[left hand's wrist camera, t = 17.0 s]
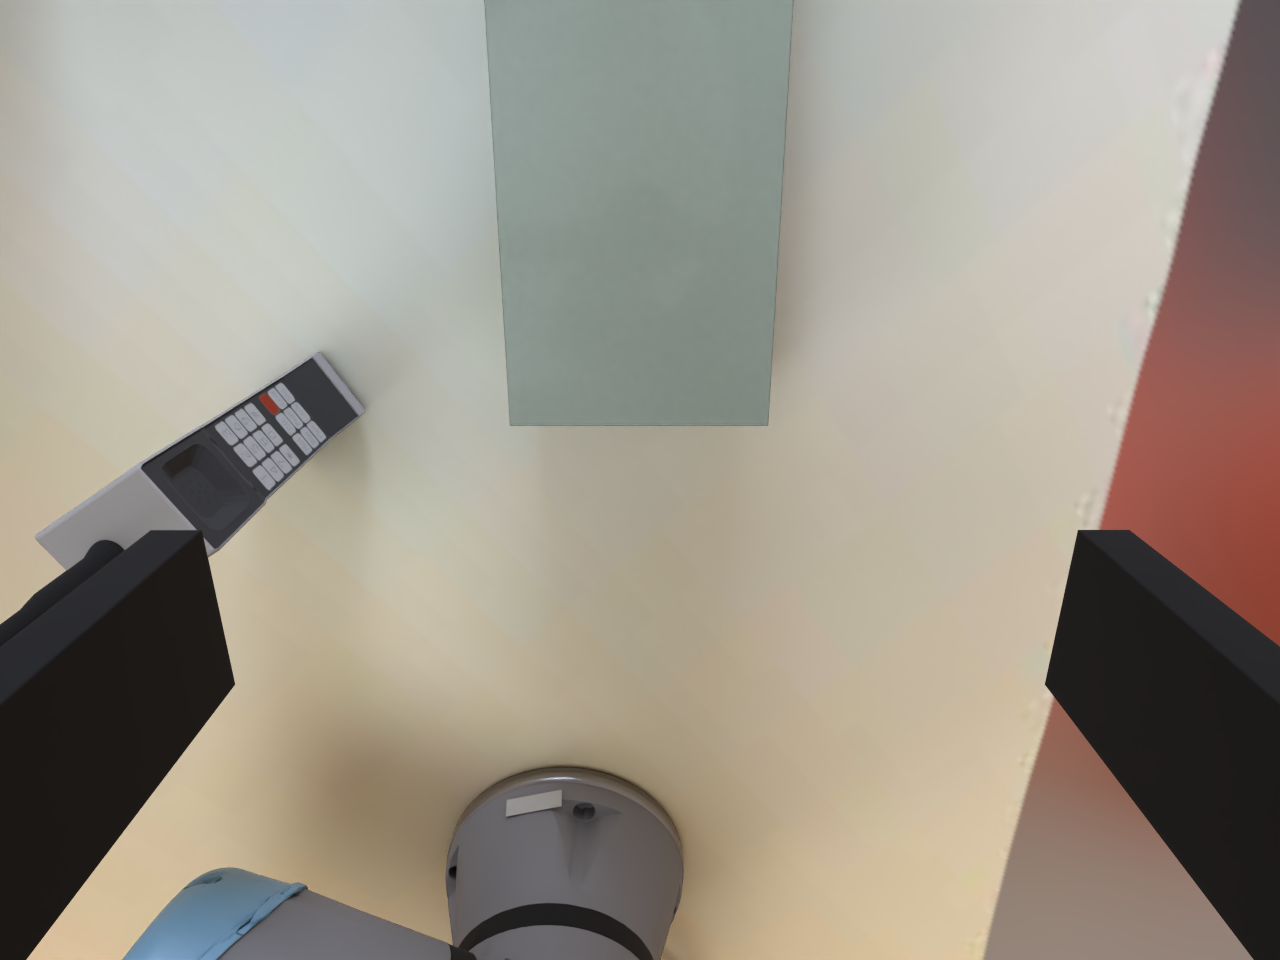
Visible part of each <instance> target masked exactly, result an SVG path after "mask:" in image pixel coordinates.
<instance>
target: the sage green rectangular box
mask: <svg viewBox="0 0 1280 960" xmlns="http://www.w3.org/2000/svg"><path fill="white" fill-rule="evenodd" d="M484 2H485V19H486V35H487V52H488V68H489V85H490V102H491V118H492V135H493V151H494V168H495V185H496V201H497V218H498V235H499V251H500V268H501V284H502V301H503V318H504V334H505V351H506V368H507V384H508V401H509V417H510V425H511V426H768V418H769V402H770V385H771V368H772V351H773V335H774V318H775V301H776V285H777V268H778V251H779V234H780V218H781V201H782V184H783V167H784V151H785V134H786V117H787V100H788V84H789V67H790V50H791V33H792V17H793V0H484Z"/></svg>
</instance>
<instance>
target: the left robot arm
mask: <svg viewBox="0 0 1280 960" xmlns="http://www.w3.org/2000/svg"><path fill="white" fill-rule="evenodd" d="M234 685H235V682H234V677H233V673H232V668H231V663H230V659H229V654H228V649H227V645H226V640H225V635H224V631H223V626H222V621H221V617H220V612H219V607H218V603H217V598H216V593H215V589H214V584H213V579H212V575H211V570H210V565H209V561H208V556H207V551H206V547H205V542H204V537H203V533H202V530H150V531H149V532H148V533H146V534H145V535H144V536H143V537H141V538H140V539H139V540H137V541H136V542H135V543H133V544H132V545H131V546H130V547H128V548H127V549H126V550H124V551H123V552H122V553H121V554H119V555H118V556H117V557H115V558H114V559H113V560H112V561H110V562H109V563H108V564H106V565H105V566H104V567H103V568H101V569H100V570H99V571H97V572H96V573H95V574H93V575H92V576H91V577H90V578H88V579H87V580H86V581H84V582H83V583H82V584H81V585H79V586H78V587H77V588H75V589H74V590H73V591H72V592H70V593H69V594H68V595H66V596H65V597H64V598H63V599H61V600H60V601H59V602H57V603H56V604H55V605H53V606H52V607H51V608H50V609H48V610H47V611H46V612H44V613H43V614H42V615H41V616H39V617H38V618H37V619H35V620H34V621H33V622H32V623H30V624H29V625H28V626H26V627H25V628H24V629H23V630H21V631H20V632H19V633H17V634H16V635H15V636H13V637H12V638H11V639H10V640H8V641H7V642H6V643H4V644H3V645H2V646H1V647H0V960H26V959H27V958H28V957H29V955H30V954H31V953H32V951H33V950H34V949H35V947H36V946H37V945H38V943H39V942H40V941H41V939H42V938H43V937H44V935H45V934H46V933H47V932H48V930H49V929H50V928H51V926H52V925H53V924H54V922H55V921H56V920H57V918H58V917H59V916H60V914H61V913H62V912H63V910H64V909H65V908H66V906H67V905H68V904H69V903H70V901H71V900H72V899H73V897H74V896H75V895H76V893H77V892H78V891H79V889H80V888H81V887H82V885H83V884H84V883H85V881H86V880H87V879H88V878H89V876H90V875H91V874H92V872H93V871H94V870H95V868H96V867H97V866H98V864H99V863H100V862H101V860H102V859H103V858H104V856H105V855H106V854H107V852H108V851H109V850H110V849H111V847H112V846H113V845H114V843H115V842H116V841H117V839H118V838H119V837H120V835H121V834H122V833H123V831H124V830H125V829H126V827H127V826H128V825H129V823H130V822H131V821H132V820H133V818H134V817H135V816H136V814H137V813H138V812H139V810H140V809H141V808H142V806H143V805H144V804H145V802H146V801H147V800H148V798H149V797H150V796H151V795H152V793H153V792H154V791H155V789H156V788H157V787H158V785H159V784H160V783H161V781H162V780H163V779H164V777H165V776H166V775H167V773H168V772H169V771H170V769H171V768H172V767H173V766H174V764H175V763H176V762H177V760H178V759H179V758H180V756H181V755H182V754H183V752H184V751H185V750H186V748H187V747H188V746H189V744H190V743H191V742H192V740H193V739H194V738H195V737H196V735H197V734H198V733H199V731H200V730H201V729H202V727H203V726H204V725H205V723H206V722H207V721H208V719H209V718H210V717H211V715H212V714H213V713H214V712H215V710H216V709H217V708H218V706H219V705H220V704H221V702H222V701H223V700H224V698H225V697H226V696H227V694H228V693H229V692H230V690H231V689H232V688H233V686H234ZM1045 685H1046V686H1047V688H1048V689H1049V690H1050V692H1051V693H1052V694H1053V696H1054V697H1055V698H1056V700H1057V701H1058V702H1059V704H1060V705H1061V706H1062V707H1063V709H1064V710H1065V711H1066V713H1067V714H1068V715H1069V717H1070V718H1071V719H1072V721H1073V722H1074V723H1075V725H1076V726H1077V727H1078V729H1079V730H1080V731H1081V732H1082V734H1083V735H1084V737H1085V738H1086V739H1087V740H1088V742H1089V743H1090V744H1091V746H1092V747H1093V748H1094V750H1095V751H1096V752H1097V754H1098V755H1099V756H1100V758H1101V759H1102V760H1103V761H1104V763H1105V764H1106V766H1107V767H1108V768H1109V769H1110V771H1111V772H1112V773H1113V775H1114V776H1115V777H1116V779H1117V780H1118V781H1119V783H1120V784H1121V785H1122V787H1123V788H1124V789H1125V791H1126V792H1127V793H1128V794H1129V796H1130V797H1131V798H1132V800H1133V801H1134V802H1135V804H1136V805H1137V806H1138V808H1139V809H1140V810H1141V812H1142V813H1143V814H1144V815H1145V817H1146V818H1147V819H1148V821H1149V822H1150V823H1151V825H1152V826H1153V827H1154V829H1155V830H1156V831H1157V833H1158V834H1159V835H1160V837H1161V838H1162V839H1163V841H1164V842H1165V843H1166V845H1167V846H1168V847H1169V849H1170V850H1171V851H1172V852H1173V854H1174V855H1175V856H1176V858H1177V859H1178V860H1179V862H1180V863H1181V864H1182V866H1183V867H1184V868H1185V870H1186V871H1187V872H1188V874H1189V875H1190V876H1191V877H1192V879H1193V880H1194V881H1195V883H1196V884H1197V885H1198V887H1199V888H1200V889H1201V891H1202V892H1203V893H1204V895H1205V896H1206V897H1207V899H1208V900H1209V901H1210V903H1211V904H1212V905H1213V906H1214V908H1215V909H1216V910H1217V912H1218V913H1219V914H1220V916H1221V917H1222V918H1223V920H1224V921H1225V922H1226V924H1227V925H1228V926H1229V928H1230V929H1231V930H1232V931H1233V933H1234V934H1235V935H1236V937H1237V938H1238V939H1239V941H1240V942H1241V943H1242V945H1243V946H1244V947H1245V949H1246V950H1247V951H1248V953H1249V954H1250V955H1251V957H1252V958H1253V959H1254V960H1280V647H1279V646H1278V645H1277V644H1276V643H1274V642H1273V641H1272V640H1270V639H1269V638H1268V637H1266V636H1265V635H1264V634H1263V633H1261V632H1260V631H1259V630H1257V629H1256V628H1255V627H1254V626H1252V625H1251V624H1250V623H1248V622H1247V621H1246V620H1245V619H1243V618H1242V617H1241V616H1239V615H1238V614H1237V613H1236V612H1234V611H1233V610H1232V609H1230V608H1229V607H1228V606H1226V605H1225V604H1224V603H1223V602H1221V601H1220V600H1219V599H1217V598H1216V597H1215V596H1214V595H1212V594H1211V593H1210V592H1208V591H1207V590H1206V589H1205V588H1203V587H1202V586H1201V585H1199V584H1198V583H1197V582H1196V581H1194V580H1193V579H1192V578H1190V577H1189V576H1188V575H1186V574H1185V573H1184V572H1183V571H1181V570H1180V569H1179V568H1177V567H1176V566H1175V565H1174V564H1172V563H1171V562H1170V561H1168V560H1167V559H1166V558H1165V557H1163V556H1162V555H1161V554H1159V553H1158V552H1157V551H1156V550H1154V549H1153V548H1152V547H1150V546H1149V545H1148V544H1147V543H1145V542H1144V541H1143V540H1141V539H1140V538H1139V537H1137V536H1136V535H1135V534H1134V533H1132V532H1131V531H1130V530H1078V533H1077V537H1076V542H1075V547H1074V551H1073V556H1072V561H1071V565H1070V570H1069V575H1068V579H1067V584H1066V589H1065V593H1064V598H1063V603H1062V607H1061V612H1060V617H1059V621H1058V626H1057V631H1056V635H1055V640H1054V645H1053V649H1052V654H1051V659H1050V663H1049V668H1048V673H1047V677H1046V682H1045ZM682 884H683V857H682V848H681V843H680V839H679V836H678V833H677V831H676V828H675V826H674V825H673V823H672V821H671V819H670V818H669V816H668V815H667V814H666V812H665V811H664V810H663V809H662V808H661V807H660V805H659V804H658V803H657V802H655V801H654V800H653V799H652V798H651V797H650V796H649V795H647V794H646V793H645V792H643V791H642V790H640V789H639V788H637V787H635V786H634V785H632V784H630V783H628V782H626V781H624V780H622V779H619V778H617V777H614V776H611V775H608V774H605V773H602V772H597V771H593V770H587V769H580V768H546V769H539V770H533V771H529V772H525V773H521V774H518V775H515V776H512V777H510V778H507V779H505V780H503V781H501V782H499V783H497V784H495V785H494V786H492V787H490V788H489V789H487V790H486V791H484V792H483V793H482V794H481V795H479V796H478V797H477V798H476V799H475V800H474V801H473V802H472V803H471V804H470V805H469V806H468V807H467V809H466V810H465V812H464V813H463V814H462V816H461V818H460V819H459V821H458V823H457V825H456V828H455V831H454V834H453V837H452V841H451V845H450V848H449V852H448V857H447V867H446V889H447V896H448V907H449V915H450V924H451V932H452V940H453V946H452V945H450V944H448V943H446V942H443V941H441V940H438V939H435V938H433V937H430V936H427V935H425V934H422V933H419V932H416V931H414V930H411V929H408V928H406V927H403V926H400V925H398V924H395V923H392V922H389V921H387V920H384V919H381V918H379V917H376V916H373V915H371V914H368V913H365V912H363V911H360V910H357V909H355V908H352V907H350V906H347V905H345V904H342V903H340V902H337V901H335V900H332V899H330V898H327V897H325V896H322V895H320V894H317V893H315V892H312V891H310V890H308V887H307V886H306V885H304V884H302V883H294V884H289V883H285V882H282V881H278V880H275V879H272V878H268V877H265V876H261V875H258V874H255V873H252V872H249V871H246V870H243V869H239V868H229V867H228V868H219V869H216V870H212V871H209V872H207V873H205V874H203V875H201V876H199V877H198V878H196V879H195V880H193V881H192V882H190V883H189V884H188V885H187V886H186V887H185V888H183V889H182V890H181V891H180V892H179V893H178V894H177V895H176V896H175V897H174V898H173V899H172V900H171V901H170V903H169V904H168V905H167V906H166V907H165V908H164V909H163V910H162V911H161V913H160V914H159V915H158V916H157V917H156V918H155V919H154V921H153V922H152V923H151V924H150V926H149V927H148V928H147V929H146V931H145V932H144V933H143V934H142V935H141V937H140V938H139V939H138V940H137V942H136V943H135V944H134V945H133V947H132V948H131V949H130V950H129V952H128V953H127V954H126V956H125V957H124V958H123V960H660V959H661V955H662V952H663V949H664V945H665V942H666V939H667V935H668V932H669V928H670V925H671V923H672V921H673V919H674V916H675V913H676V911H677V909H678V906H679V903H680V899H681V892H682Z"/></svg>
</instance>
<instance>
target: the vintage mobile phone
mask: <svg viewBox="0 0 1280 960" xmlns="http://www.w3.org/2000/svg"><path fill="white" fill-rule="evenodd" d="M364 412H365V409H364V408H363V407H362V406H361V404H360V403H359V402H358V400H357V399H356V398H355V397H354V395H353V394H352V393H351V392H350V390H349V389H348V388H347V387H346V385H345V384H344V383H343V381H342V380H341V379H340V378H339V376H338V375H337V374H336V373H335V371H334V370H333V369H332V367H331V366H330V365H329V364H328V362H327V361H326V360H325V359H324V357H323V356H322V355H321V354H320V352H317V353H315V354H313V355H312V356H310V357H309V358H307V359H306V360H304V361H303V362H301V363H300V364H298V365H297V366H295V367H294V368H292V369H290V370H289V371H287V372H286V373H284V374H283V375H281V376H280V377H278V378H277V379H275V380H273V381H272V382H270V383H269V384H267V385H265V386H264V387H262V388H261V389H259V390H257V391H256V392H254V393H253V394H251V395H249V396H248V397H246V398H245V399H243V400H241V401H240V402H238V403H237V404H235V405H233V406H232V407H230V408H229V409H227V410H225V411H224V412H222V413H221V414H219V415H218V416H216V417H214V418H213V419H211V420H210V421H208V422H206V423H205V424H203V425H202V426H199V427H197V428H196V429H194V430H192V431H191V432H189V433H187V434H186V435H184V436H183V437H181V438H179V439H178V440H176V441H174V442H173V443H171V444H170V445H168V446H166V447H165V448H163V449H161V450H160V451H158V452H157V453H155V454H153V455H152V456H150V457H148V458H147V459H145V460H144V461H142V462H140V463H139V464H137V465H136V466H134V467H133V468H132V469H130V470H129V471H127V472H126V473H124V474H123V475H121V476H120V477H119V478H117V479H116V480H114V481H113V482H111V483H110V484H108V485H107V486H106V487H104V488H103V489H101V490H100V491H98V492H97V493H95V494H94V495H93V496H91V497H90V498H88V499H87V500H85V501H84V502H82V503H81V504H80V505H78V506H77V507H75V508H74V509H72V510H71V511H69V512H68V513H67V514H65V515H64V516H62V517H61V518H59V519H58V520H56V521H55V522H54V523H52V524H51V525H49V526H48V527H46V528H45V529H43V530H42V531H41V532H39V533H38V534H36V536H35V538H36V540H37V541H38V542H39V543H40V544H41V545H42V546H43V547H44V548H45V549H46V550H47V551H48V552H49V553H50V554H51V555H52V556H53V557H54V558H55V559H56V560H57V561H58V562H59V563H60V564H61V565H62V566H63V567H64V568H65V569H66V570H67V571H65V572H64V573H63V574H61V575H60V576H59V577H57V578H56V579H54V580H53V581H52V582H50V583H49V584H48V585H46V586H45V587H44V588H42V589H41V590H39V591H38V592H37V593H35V594H34V595H33V596H32V597H31V598H30V600H29V601H28V602H27V603H26V604H25V605H24V606H23V607H22V608H21V609H20V610H19V611H18V612H17V613H15V614H14V615H13V616H11V617H10V618H9V619H7V620H6V621H4V622H3V623H2V624H0V647H1V646H2V645H3V644H4V643H6V642H7V641H8V640H10V639H11V638H12V637H13V636H15V635H16V634H17V633H19V632H20V631H21V630H23V629H24V628H25V627H26V626H28V625H29V624H30V623H32V622H33V621H34V620H35V619H37V618H38V617H39V616H41V615H42V614H43V613H44V612H46V611H47V610H48V609H50V608H51V607H52V606H53V605H55V604H56V603H57V602H59V601H60V600H61V599H63V598H64V597H65V596H66V595H68V594H69V593H70V592H72V591H73V590H74V589H75V588H77V587H78V586H79V585H81V584H82V583H83V582H84V581H86V580H87V579H88V578H90V577H91V576H92V575H93V574H95V573H96V572H97V571H99V570H100V569H101V568H103V567H104V566H105V565H106V564H108V563H109V562H110V561H112V560H113V559H114V558H115V557H117V556H118V555H119V554H121V553H122V552H123V551H124V550H126V549H127V548H128V547H130V546H131V545H132V544H133V543H135V542H136V541H137V540H139V539H140V538H141V537H143V536H144V535H145V534H146V533H148V532H149V531H150V530H202V533H203V537H204V542H205V547H206V551H207V556H208V557H210V556H211V555H213V554H214V553H216V552H217V551H219V550H220V549H221V548H222V547H223V546H224V545H225V544H226V543H227V542H228V541H229V540H230V539H231V538H232V537H233V536H234V535H235V534H236V533H237V532H238V531H239V530H240V529H241V528H242V527H243V526H244V525H245V524H246V523H247V522H248V521H249V520H250V519H251V518H252V517H253V516H254V515H255V514H256V513H257V512H258V511H259V510H260V509H261V508H262V507H263V506H264V505H265V504H266V501H267V499H268V498H269V497H270V496H272V495H273V494H274V493H275V492H276V491H277V490H278V489H279V488H280V487H281V486H282V485H283V484H284V483H285V482H286V481H288V480H289V479H290V478H291V477H292V476H293V475H294V474H295V473H296V472H297V471H298V470H299V469H300V468H301V467H303V466H304V465H305V464H306V463H307V462H308V461H309V460H310V459H311V458H312V457H313V456H314V455H315V454H316V453H317V452H319V451H320V450H321V449H322V448H323V447H324V446H325V445H326V444H327V443H328V442H329V441H330V440H331V439H333V438H334V437H335V436H336V435H338V434H339V433H340V432H341V431H343V430H344V429H345V428H346V427H348V426H349V425H350V424H351V423H353V422H354V421H355V420H357V419H358V418H359V417H360V416H361V415H362V414H363V413H364Z"/></svg>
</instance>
